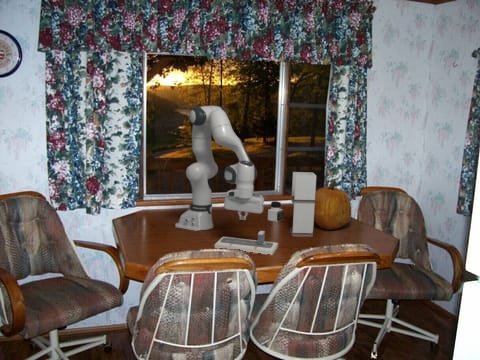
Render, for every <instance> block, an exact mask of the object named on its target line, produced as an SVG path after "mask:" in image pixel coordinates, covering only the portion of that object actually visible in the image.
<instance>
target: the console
mask: <svg viewBox="0 0 480 360" xmlns="http://www.w3.org/2000/svg"><path fill="white" fill-rule="evenodd" d="M257 242H258V240H256V239H255V240H254V239H246V238H240V237H239V238H238V237H231V236H230V237H229V236H222V237H221V238H220V239H219V240H218V241H217V242H215V244H214V249H219V250H220V248H227V249H240V250H243V251H246V252H245V253H250V252H253V253H252V254H258V253H261V254H260V255H267V254H270V255H269V256H273V255H274V253H275V251H277V249H278V247H279V246H278V245H279V242H275V241H264V242H265V245H261V244H257Z"/></svg>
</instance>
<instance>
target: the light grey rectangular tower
mask: <svg viewBox="0 0 480 360" xmlns="http://www.w3.org/2000/svg"><path fill="white" fill-rule="evenodd" d="M316 188H317V175H316V174H315V173H314V172H312V171H311V172H310V171H309V172H308V171H307V172H304V171H303V172H302V171H299V172H298V171H292V185H291V198H290V199H291V203H292V204H293V214H292V215H293V216H292V218H293V219H292V227H289V232H290V234H291V237H303V238H305V237H307V238H309V237H312V238H313V237H314V223H315V221H314V206H315V192H316V191H317V190H316Z"/></svg>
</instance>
